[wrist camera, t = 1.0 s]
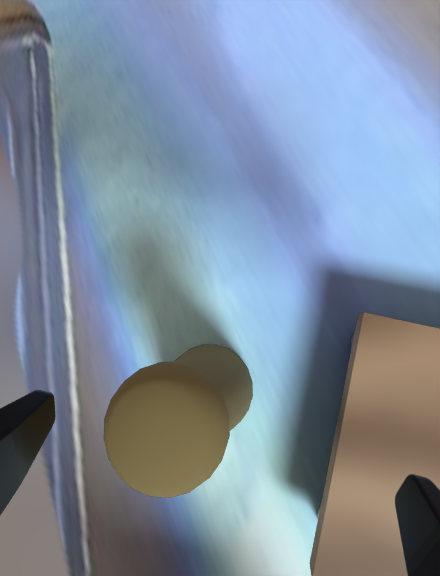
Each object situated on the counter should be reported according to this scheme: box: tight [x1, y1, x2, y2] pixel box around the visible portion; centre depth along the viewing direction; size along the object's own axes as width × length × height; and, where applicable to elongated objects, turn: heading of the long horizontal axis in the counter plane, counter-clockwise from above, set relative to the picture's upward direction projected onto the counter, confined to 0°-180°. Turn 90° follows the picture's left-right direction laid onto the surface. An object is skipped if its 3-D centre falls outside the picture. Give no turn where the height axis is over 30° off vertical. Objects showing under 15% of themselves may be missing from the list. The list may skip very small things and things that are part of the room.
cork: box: [104, 345, 253, 498], centre depth 17 cm, size 6×6×11 cm
